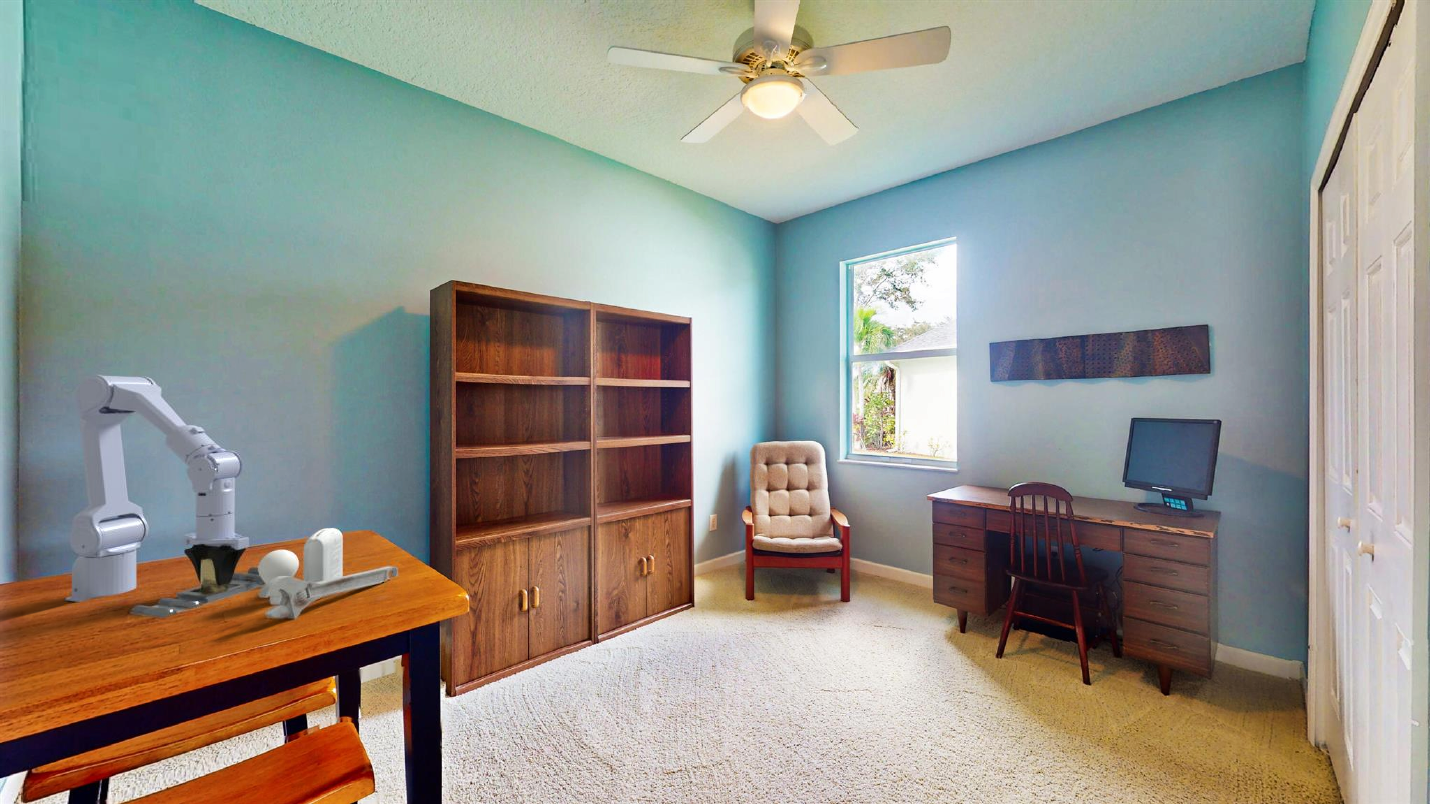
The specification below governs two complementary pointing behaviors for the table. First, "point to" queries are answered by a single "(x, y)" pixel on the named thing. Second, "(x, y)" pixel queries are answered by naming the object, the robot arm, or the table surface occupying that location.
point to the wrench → (317, 589)
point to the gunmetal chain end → (235, 587)
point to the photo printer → (323, 556)
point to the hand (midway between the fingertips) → (215, 583)
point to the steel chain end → (167, 607)
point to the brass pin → (209, 577)
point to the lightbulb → (277, 569)
